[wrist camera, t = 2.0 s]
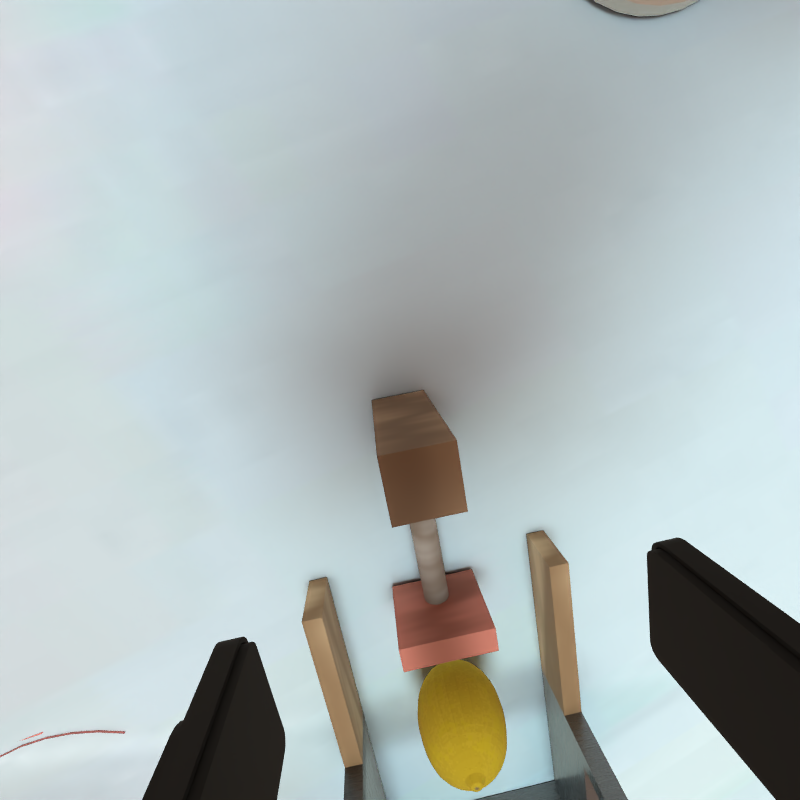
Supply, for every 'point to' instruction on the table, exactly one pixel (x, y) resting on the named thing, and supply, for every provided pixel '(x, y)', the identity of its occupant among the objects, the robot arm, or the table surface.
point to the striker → (428, 534)
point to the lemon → (462, 725)
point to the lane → (552, 636)
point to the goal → (566, 796)
